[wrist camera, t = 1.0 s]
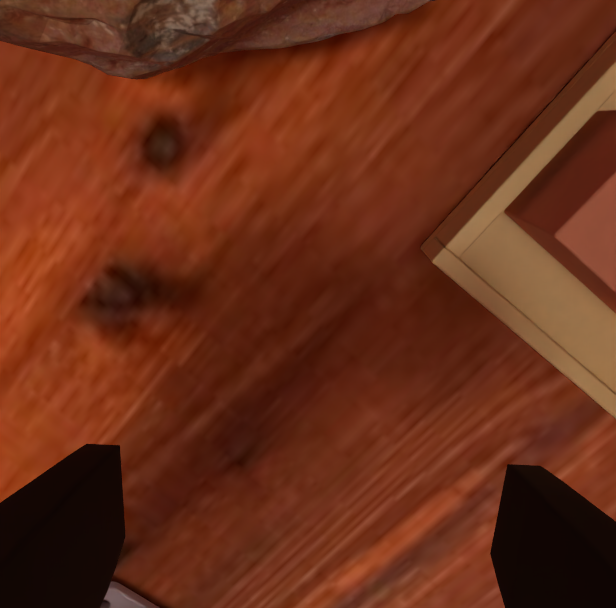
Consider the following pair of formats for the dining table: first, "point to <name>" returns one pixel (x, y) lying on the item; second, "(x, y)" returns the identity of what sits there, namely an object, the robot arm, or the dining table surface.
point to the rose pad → (577, 206)
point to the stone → (180, 28)
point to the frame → (536, 245)
